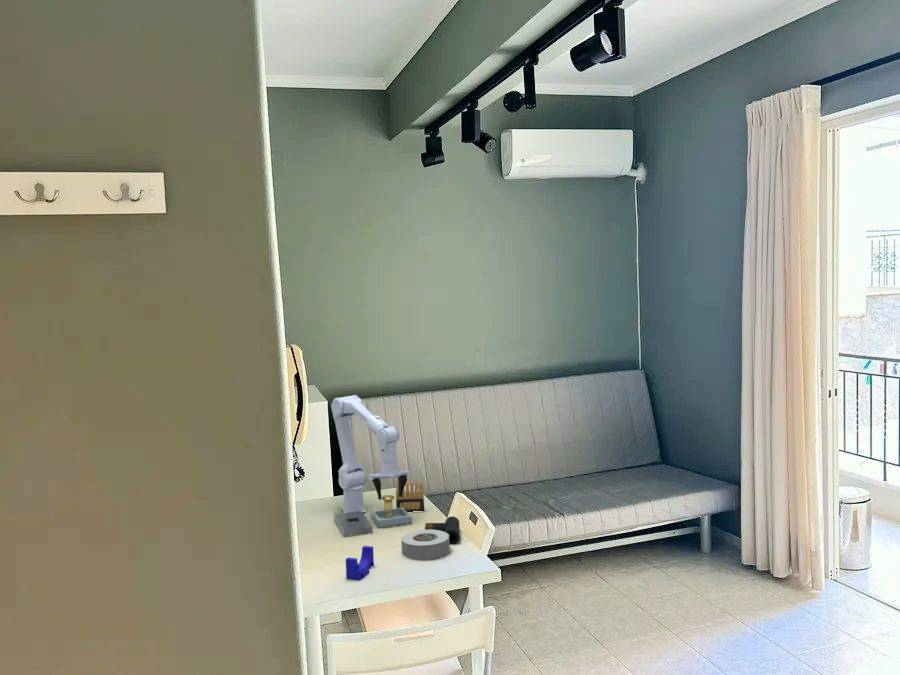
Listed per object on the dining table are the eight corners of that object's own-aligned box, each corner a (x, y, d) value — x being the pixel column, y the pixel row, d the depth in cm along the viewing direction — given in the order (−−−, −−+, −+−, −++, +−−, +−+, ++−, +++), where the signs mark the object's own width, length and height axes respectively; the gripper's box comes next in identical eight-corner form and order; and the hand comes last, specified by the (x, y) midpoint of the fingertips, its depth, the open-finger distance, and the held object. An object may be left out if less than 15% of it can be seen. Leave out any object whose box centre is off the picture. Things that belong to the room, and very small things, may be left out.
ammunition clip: (424, 510, 289) (423, 479, 288) (424, 512, 287) (423, 480, 286) (396, 511, 288) (395, 480, 288) (396, 513, 287) (395, 481, 286)
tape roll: (410, 564, 234) (410, 547, 233) (395, 548, 248) (395, 533, 247) (457, 556, 239) (456, 540, 239) (439, 541, 253) (439, 526, 253)
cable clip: (360, 580, 221) (359, 560, 221) (346, 579, 223) (345, 559, 222) (378, 566, 232) (377, 547, 232) (365, 564, 234) (364, 545, 234)
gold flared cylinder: (381, 519, 277) (380, 495, 276) (393, 517, 278) (392, 494, 278) (384, 522, 273) (383, 498, 272) (396, 521, 274) (395, 497, 273)
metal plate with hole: (334, 520, 280) (334, 514, 279) (361, 517, 283) (361, 510, 282) (343, 537, 261) (343, 529, 260) (372, 533, 264) (372, 526, 263)
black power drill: (424, 530, 249) (426, 516, 264) (424, 545, 250) (426, 531, 265) (459, 529, 249) (459, 515, 264) (459, 545, 250) (459, 530, 264)
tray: (371, 519, 280) (371, 511, 279) (403, 515, 283) (402, 507, 283) (378, 528, 268) (378, 520, 268) (411, 524, 272) (411, 516, 272)
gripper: (371, 465, 268) (372, 502, 269) (411, 460, 273) (412, 498, 274) (367, 460, 275) (368, 497, 276) (406, 456, 279) (407, 493, 280)
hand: (390, 497), depth 275 cm, fingers open, 7 cm apart
